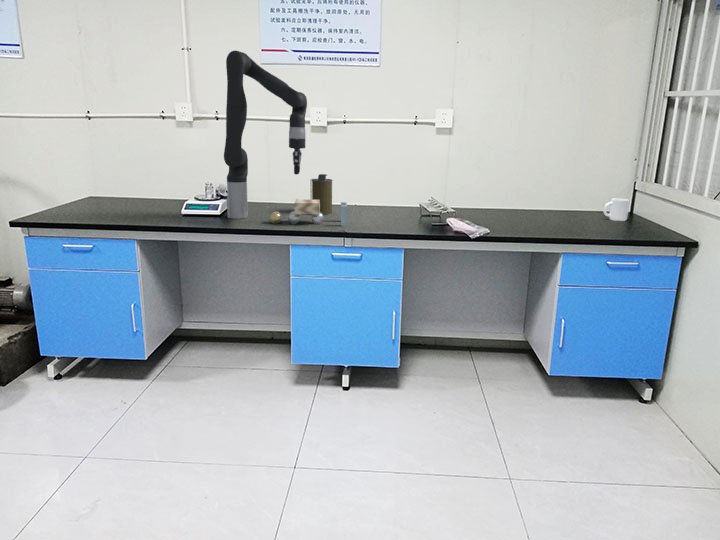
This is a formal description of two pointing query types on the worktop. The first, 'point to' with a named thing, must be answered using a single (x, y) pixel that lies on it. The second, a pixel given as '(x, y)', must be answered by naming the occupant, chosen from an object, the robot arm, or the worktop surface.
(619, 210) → the mug
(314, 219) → the translucent grey ball
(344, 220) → the post
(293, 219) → the mottled grey ball
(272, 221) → the olive tan ovoid
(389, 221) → the worktop surface
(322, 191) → the canister
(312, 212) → the slab
